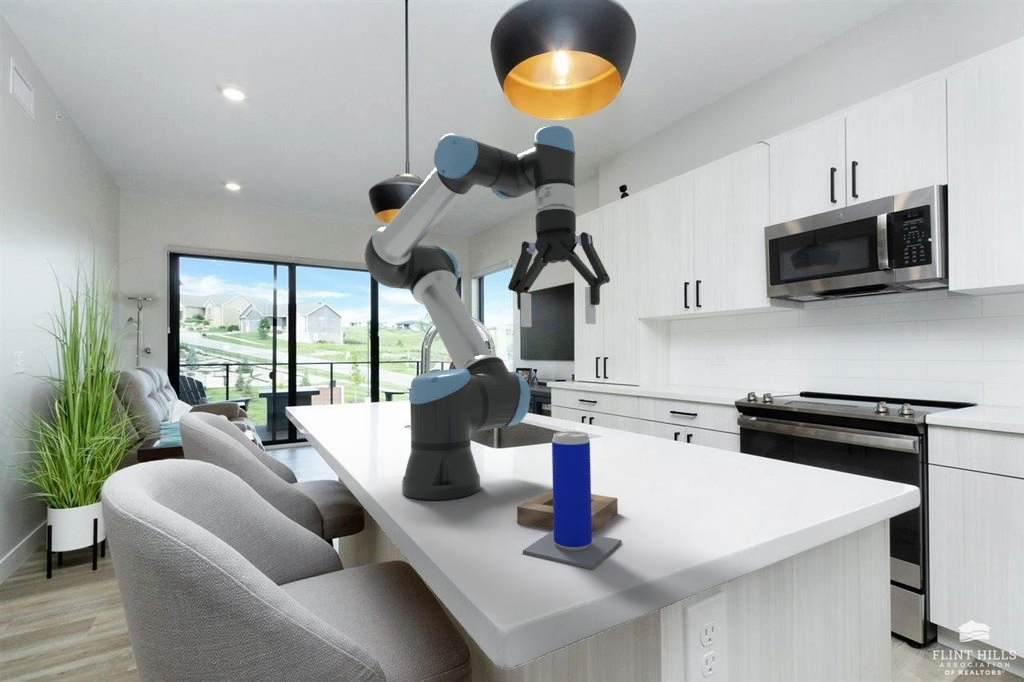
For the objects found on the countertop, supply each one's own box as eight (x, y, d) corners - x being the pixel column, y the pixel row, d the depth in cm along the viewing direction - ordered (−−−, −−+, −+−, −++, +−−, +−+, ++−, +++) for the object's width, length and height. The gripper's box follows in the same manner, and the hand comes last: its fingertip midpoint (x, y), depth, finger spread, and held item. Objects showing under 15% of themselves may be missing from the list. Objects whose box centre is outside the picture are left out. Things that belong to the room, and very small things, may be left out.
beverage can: (569, 535, 72) (567, 429, 72) (599, 544, 68) (597, 433, 69) (546, 545, 68) (544, 434, 69) (576, 555, 65) (573, 438, 65)
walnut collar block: (517, 522, 79) (517, 506, 79) (552, 502, 89) (552, 488, 89) (588, 536, 72) (587, 518, 72) (617, 513, 83) (617, 498, 83)
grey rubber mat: (522, 553, 67) (522, 550, 67) (557, 530, 75) (557, 527, 75) (592, 569, 61) (592, 566, 61) (621, 542, 70) (621, 539, 70)
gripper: (490, 218, 98) (491, 327, 98) (610, 195, 84) (612, 321, 84) (511, 226, 104) (512, 328, 104) (626, 205, 91) (628, 323, 90)
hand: (557, 325), depth 94 cm, fingers open, 13 cm apart
